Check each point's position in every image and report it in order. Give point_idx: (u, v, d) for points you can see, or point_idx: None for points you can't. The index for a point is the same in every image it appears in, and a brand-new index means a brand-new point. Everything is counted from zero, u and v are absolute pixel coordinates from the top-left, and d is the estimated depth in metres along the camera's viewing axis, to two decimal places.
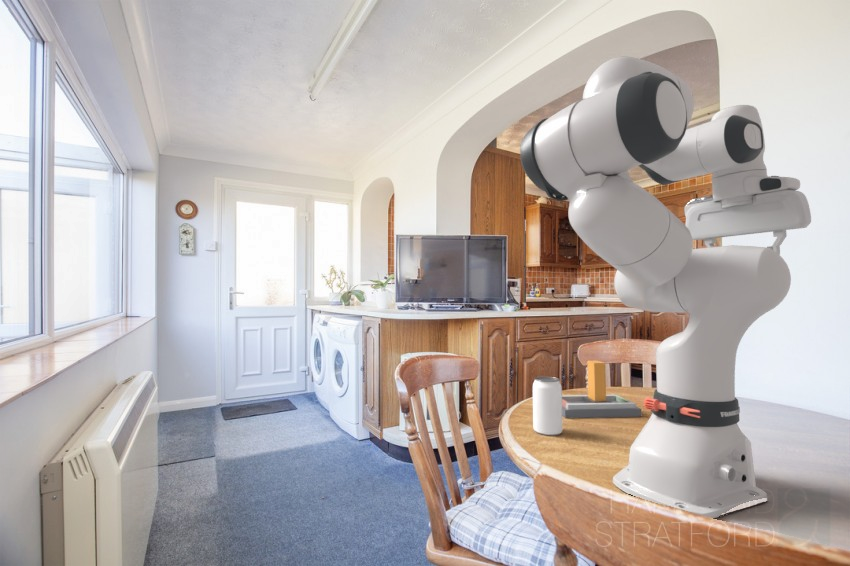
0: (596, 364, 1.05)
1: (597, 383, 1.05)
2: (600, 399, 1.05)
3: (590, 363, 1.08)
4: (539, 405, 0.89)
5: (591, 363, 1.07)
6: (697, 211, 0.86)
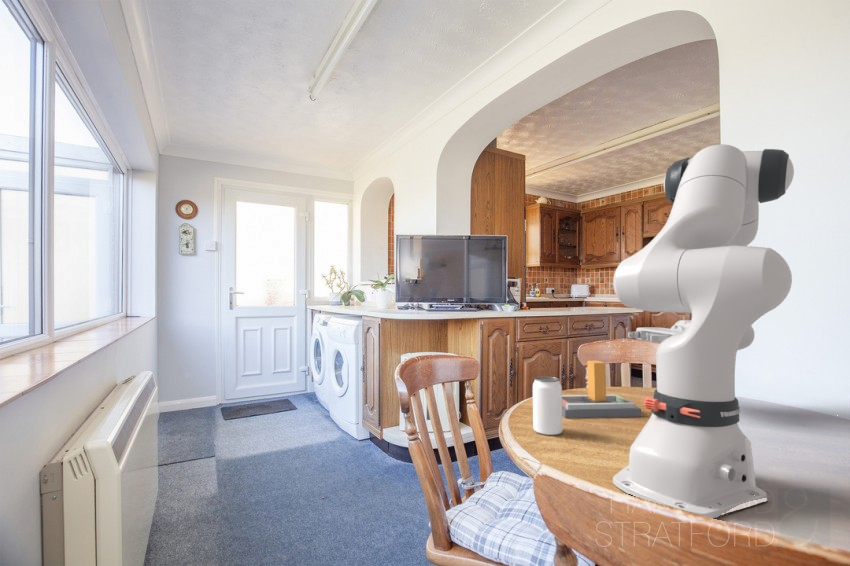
0: (596, 364, 1.05)
1: (597, 383, 1.05)
2: (600, 399, 1.05)
3: (590, 363, 1.08)
4: (539, 405, 0.89)
5: (591, 363, 1.07)
6: None
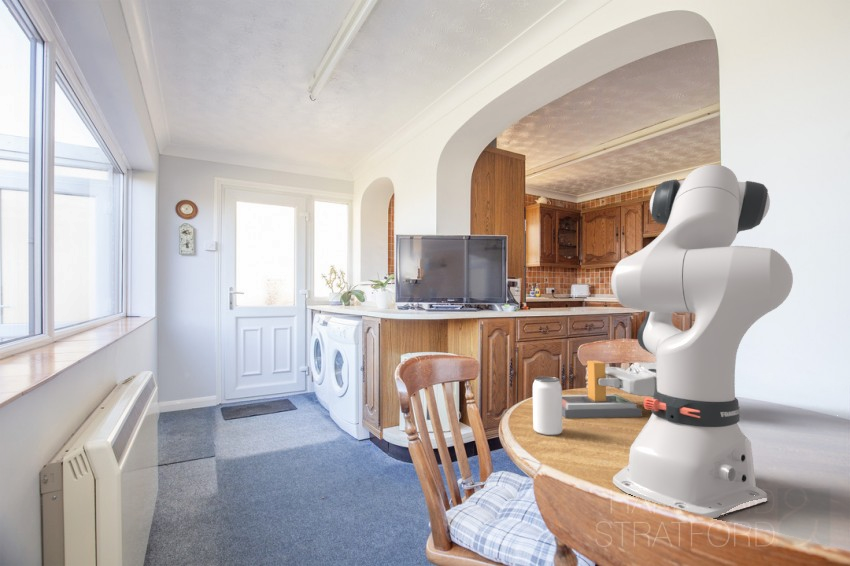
0: (596, 364, 1.05)
1: None
2: (600, 399, 1.05)
3: (590, 363, 1.08)
4: (539, 405, 0.89)
5: (591, 363, 1.07)
6: (617, 367, 1.15)
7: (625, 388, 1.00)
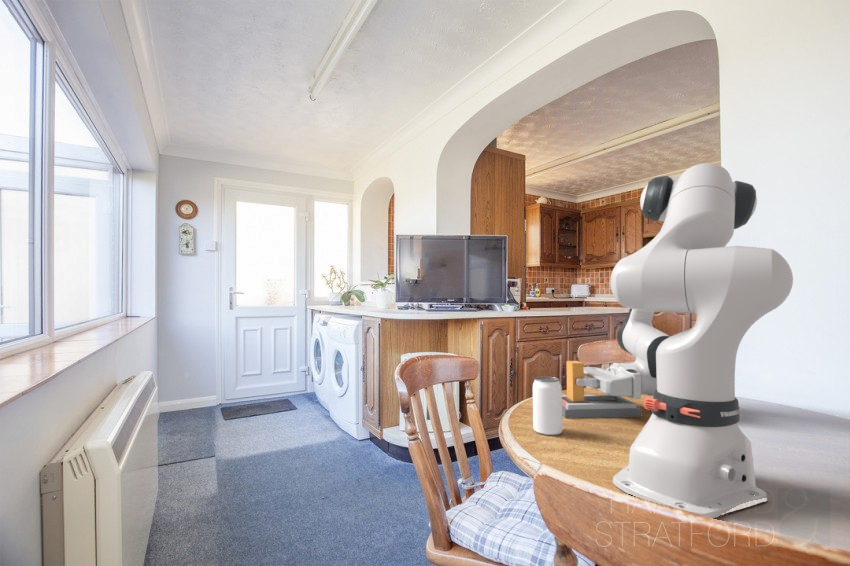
0: (574, 364, 1.05)
1: None
2: (578, 399, 1.05)
3: (569, 363, 1.07)
4: (539, 405, 0.89)
5: (570, 363, 1.07)
6: (597, 368, 1.15)
7: (602, 388, 1.00)
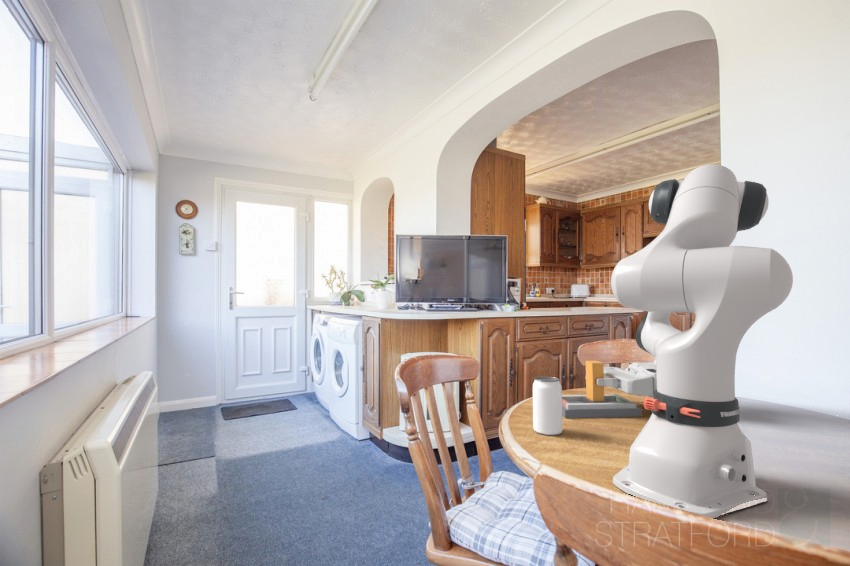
0: (594, 364, 1.05)
1: None
2: (598, 399, 1.05)
3: (588, 363, 1.08)
4: (539, 405, 0.89)
5: (589, 363, 1.07)
6: (615, 367, 1.15)
7: (623, 388, 1.00)
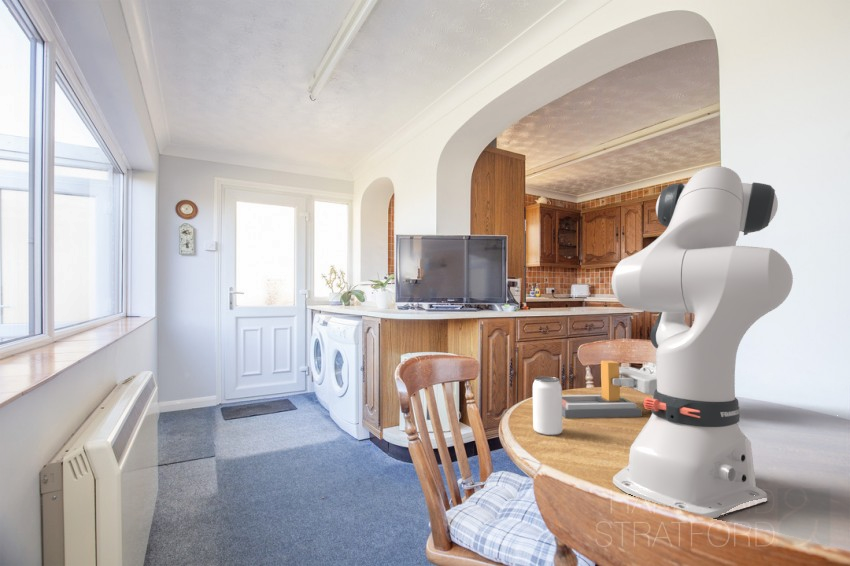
0: (610, 364, 1.06)
1: None
2: (614, 399, 1.05)
3: (604, 363, 1.08)
4: (539, 405, 0.89)
5: (605, 363, 1.07)
6: (630, 367, 1.15)
7: (640, 388, 1.00)
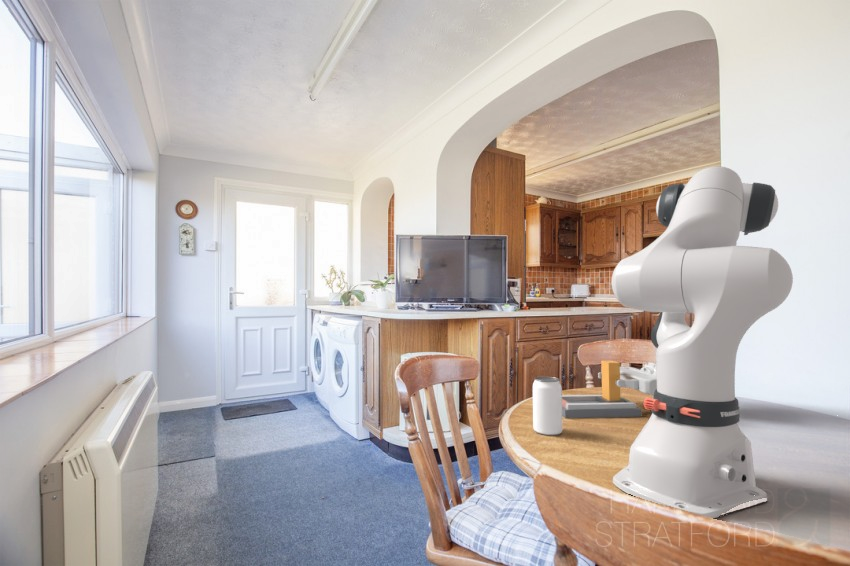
0: (610, 364, 1.06)
1: (611, 382, 1.05)
2: (614, 399, 1.05)
3: (604, 363, 1.08)
4: (539, 405, 0.89)
5: (605, 363, 1.07)
6: (631, 367, 1.15)
7: (640, 388, 1.00)
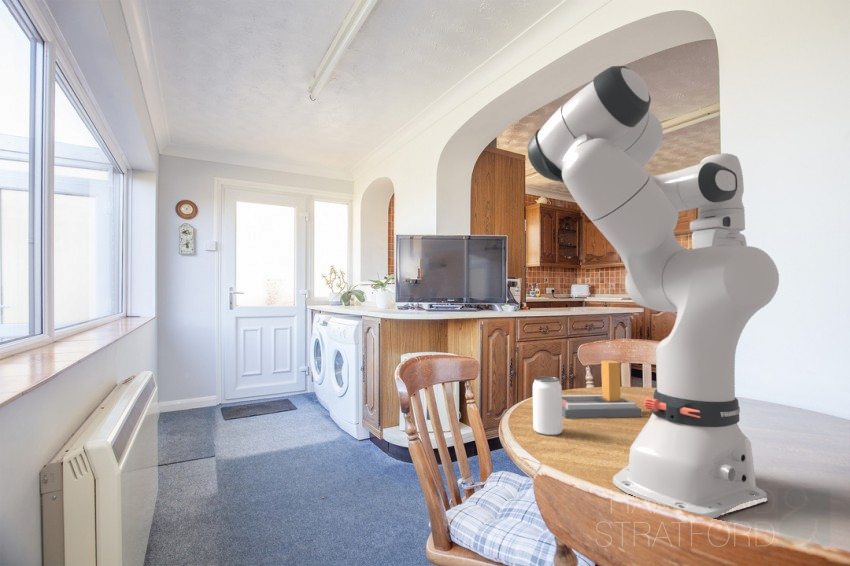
0: (610, 364, 1.06)
1: (611, 382, 1.05)
2: (614, 399, 1.05)
3: (604, 363, 1.08)
4: (539, 405, 0.89)
5: (605, 363, 1.07)
6: None
7: None
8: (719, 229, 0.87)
